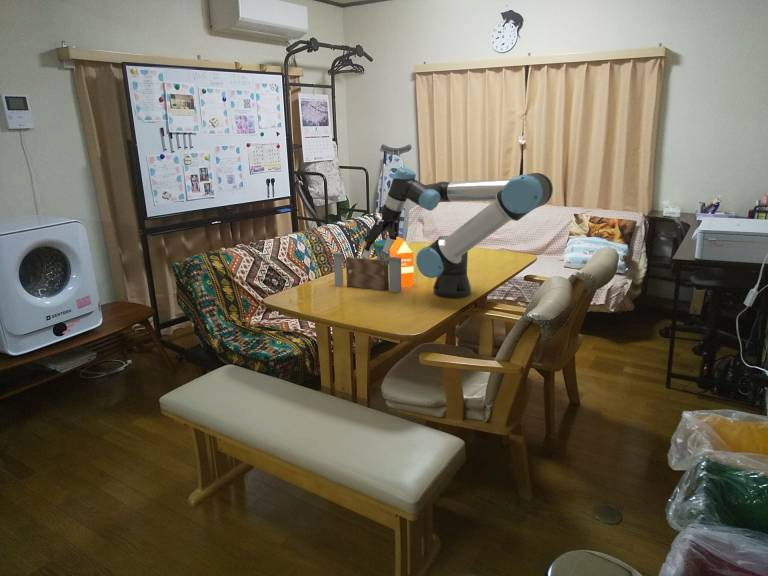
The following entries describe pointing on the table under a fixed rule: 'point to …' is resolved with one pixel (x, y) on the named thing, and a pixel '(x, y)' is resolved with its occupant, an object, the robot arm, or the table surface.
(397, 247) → the orange juice
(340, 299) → the table surface
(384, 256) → the snack cup
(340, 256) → the grey rectangular posts
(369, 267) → the gate
